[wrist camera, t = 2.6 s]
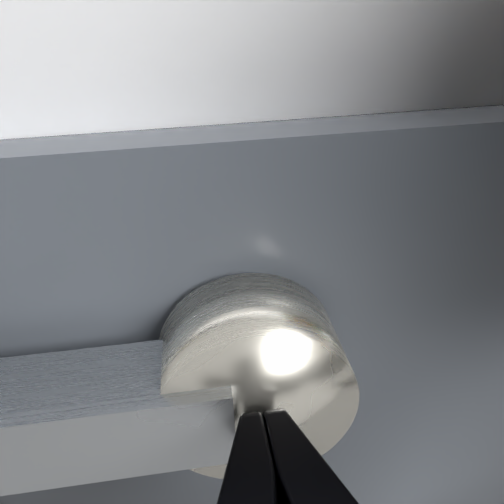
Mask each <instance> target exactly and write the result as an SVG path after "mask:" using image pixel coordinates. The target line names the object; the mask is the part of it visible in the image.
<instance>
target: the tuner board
mask: <svg viewBox="0 0 504 504" xmlns="http://www.w3.org/2000/svg"><path fill="white" fill-rule="evenodd" d="M243 273H264V274H272V275H277V276H281V277H284V278H287V279H290V280H292V281H294V282H297V283H299V284H301V285H302V286H304V287H305V288H307V289H308V290H309V291H310V292H312V293H313V294H314V295H315V296H316V297H317V298H318V300H319V301H320V302H321V303H322V305H323V307H324V308H325V310H326V312H327V314H328V317H329V319H330V321H331V323H332V325H333V328H334V330H335V332H336V334H337V337H338V339H339V341H340V343H341V345H342V348H343V350H344V352H345V354H346V357H347V359H348V361H349V363H350V365H351V368H352V370H353V372H354V374H355V377H356V380H357V382H358V387H359V405H358V410H357V413H356V416H355V418H354V421H353V423H352V424H351V426H350V428H349V429H348V431H347V432H346V433H345V435H344V436H343V437H342V438H341V439H340V441H339V442H338V443H337V444H336V445H335V446H333V447H332V448H331V449H330V450H329V451H328V452H326V453H325V454H323V455H322V457H323V458H324V460H325V461H326V462H327V464H328V465H329V466H330V467H331V469H332V470H333V471H334V473H335V474H336V475H337V476H338V478H339V479H340V480H341V481H342V483H343V484H344V485H345V487H346V488H347V489H348V490H349V492H350V493H351V494H352V496H353V497H354V498H355V499H356V501H357V502H358V503H359V504H504V105H498V106H484V107H469V108H455V109H440V110H426V111H411V112H397V113H382V114H368V115H353V116H338V117H324V118H309V119H295V120H280V121H266V122H251V123H237V124H222V125H208V126H193V127H179V128H164V129H150V130H135V131H120V132H106V133H91V134H77V135H62V136H48V137H33V138H19V139H4V140H0V358H5V357H14V356H23V355H31V354H40V353H49V352H58V351H66V350H75V349H84V348H92V347H101V346H110V345H119V344H127V343H136V342H145V341H154V340H159V336H160V332H161V329H162V326H163V324H164V322H165V320H166V318H167V317H168V315H169V313H170V312H171V311H172V309H173V308H174V307H175V306H176V305H177V304H178V303H179V302H180V301H181V300H182V299H183V298H184V297H185V296H187V295H188V294H189V293H191V292H192V291H194V290H195V289H197V288H199V287H201V286H203V285H204V284H206V283H209V282H211V281H214V280H216V279H219V278H223V277H226V276H230V275H236V274H243ZM222 482H223V479H218V478H213V477H209V476H205V475H202V474H199V473H196V472H193V471H191V470H189V469H187V470H180V471H173V472H166V473H159V474H152V475H145V476H138V477H131V478H124V479H117V480H111V481H104V482H97V483H90V484H83V485H76V486H69V487H62V488H55V489H48V490H41V491H34V492H27V493H20V494H13V495H6V496H0V504H217V501H218V497H219V493H220V489H221V485H222Z"/></svg>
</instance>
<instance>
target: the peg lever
mask: <svg viewBox="0 0 504 504" xmlns="http://www.w3.org/2000/svg"><path fill="white" fill-rule="evenodd" d="M358 405H359V387H358V382H357V380H356V377H355V374H354V372H353V370H352V368H351V365H350V363H349V361H348V359H347V357H346V354H345V352H344V350H343V348H342V345H341V343H340V341H339V339H338V337H337V334H336V332H335V330H334V328H333V325H332V323H331V321H330V319H329V317H328V314H327V312H326V310H325V308H324V307H323V305H322V303H321V302H320V301H319V300H318V298H317V297H316V296H315V295H314V294H313V293H312V292H310V291H309V290H308V289H307V288H305V287H304V286H302V285H301V284H299V283H297V282H294V281H292V280H290V279H287V278H284V277H281V276H277V275H272V274H264V273H243V274H236V275H230V276H226V277H223V278H219V279H216V280H214V281H211V282H209V283H206V284H204V285H203V286H201V287H199V288H197V289H195V290H194V291H192V292H191V293H189V294H188V295H187V296H185V297H184V298H183V299H182V300H181V301H180V302H179V303H178V304H177V305H176V306H175V307H174V308H173V309H172V311H171V312H170V313H169V315H168V317H167V318H166V320H165V322H164V324H163V326H162V329H161V332H160V336H159V340H154V341H145V342H136V343H127V344H119V345H110V346H101V347H92V348H84V349H75V350H66V351H58V352H49V353H40V354H31V355H23V356H14V357H5V358H0V496H6V495H13V494H20V493H27V492H34V491H41V490H48V489H55V488H62V487H69V486H76V485H83V484H90V483H97V482H104V481H111V480H117V479H124V478H131V477H138V476H145V475H152V474H159V473H166V472H173V471H180V470H187V469H189V470H191V471H193V472H196V473H199V474H202V475H205V476H209V477H213V478H218V479H223V478H224V474H225V470H226V467H227V463H228V459H229V455H230V451H231V448H232V444H233V440H234V436H235V432H236V429H237V425H238V421H239V418H240V416H241V414H243V413H249V412H257V411H259V412H261V413H262V414H263V412H264V411H266V410H272V409H279V408H282V409H284V410H286V411H287V413H288V414H289V415H290V416H291V418H292V419H293V420H294V421H295V423H296V424H297V425H298V427H299V428H300V429H301V430H302V432H303V433H304V434H305V436H306V437H307V438H308V439H309V441H310V442H311V443H312V444H313V446H314V447H315V448H316V450H317V451H318V452H319V453H320V455H321V456H322V455H323V454H325V453H326V452H328V451H329V450H330V449H331V448H332V447H333V446H335V445H336V444H337V443H338V442H339V441H340V439H341V438H342V437H343V436H344V435H345V433H346V432H347V431H348V429H349V428H350V426H351V424H352V423H353V421H354V418H355V416H356V413H357V410H358Z"/></svg>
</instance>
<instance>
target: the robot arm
mask: <svg viewBox="0 0 504 504" xmlns="http://www.w3.org/2000/svg"><path fill="white" fill-rule="evenodd" d="M217 504H359V503H358V502H357V501H356V499H355V498H354V497H353V496H352V494H351V493H350V492H349V490H348V489H347V488H346V487H345V485H344V484H343V483H342V481H341V480H340V479H339V478H338V476H337V475H336V474H335V473H334V471H333V470H332V469H331V467H330V466H329V465H328V464H327V462H326V461H325V460H324V458H323V457H322V456H321V455H320V453H319V452H318V451H317V450H316V448H315V447H314V446H313V444H312V443H311V442H310V441H309V439H308V438H307V437H306V436H305V434H304V433H303V432H302V430H301V429H300V428H299V427H298V425H297V424H296V423H295V421H294V420H293V419H292V418H291V416H290V415H289V414H288V413H287V411H286V410H284V409H282V408H279V409H272V410H266V411H264V412H263V414H262V413H261V412H259V411H257V412H249V413H243V414H241V416H240V418H239V421H238V425H237V429H236V432H235V436H234V440H233V444H232V448H231V451H230V455H229V459H228V463H227V467H226V470H225V474H224V478H223V482H222V485H221V489H220V493H219V497H218V501H217Z"/></svg>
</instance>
